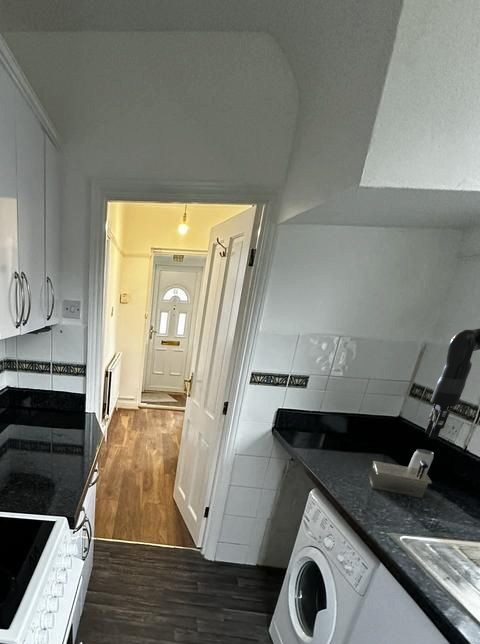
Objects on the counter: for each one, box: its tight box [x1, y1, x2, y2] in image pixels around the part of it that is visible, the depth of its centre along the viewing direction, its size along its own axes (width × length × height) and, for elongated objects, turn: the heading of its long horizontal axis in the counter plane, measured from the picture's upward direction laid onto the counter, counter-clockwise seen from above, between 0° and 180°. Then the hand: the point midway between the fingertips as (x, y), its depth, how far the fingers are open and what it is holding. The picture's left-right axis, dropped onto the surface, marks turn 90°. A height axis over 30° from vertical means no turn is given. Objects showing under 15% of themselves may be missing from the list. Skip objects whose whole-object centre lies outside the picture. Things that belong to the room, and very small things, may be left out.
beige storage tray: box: [367, 463, 429, 499], centre depth 160 cm, size 16×14×6 cm
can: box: [407, 448, 435, 475], centre depth 167 cm, size 6×6×12 cm
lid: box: [372, 460, 433, 485], centre depth 157 cm, size 17×14×6 cm
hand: (430, 435), depth 149 cm, fingers open, 8 cm apart
